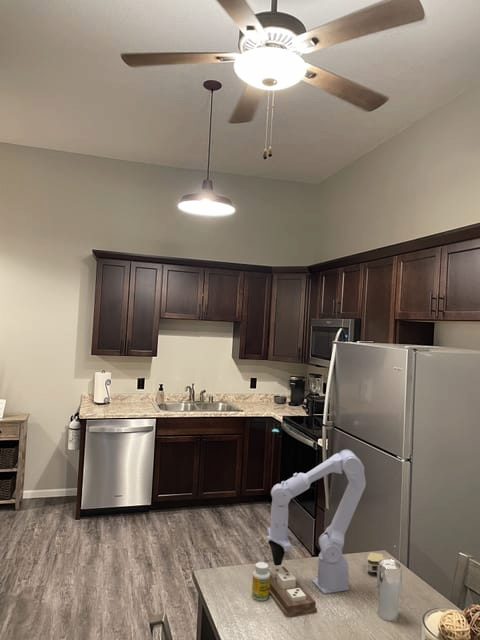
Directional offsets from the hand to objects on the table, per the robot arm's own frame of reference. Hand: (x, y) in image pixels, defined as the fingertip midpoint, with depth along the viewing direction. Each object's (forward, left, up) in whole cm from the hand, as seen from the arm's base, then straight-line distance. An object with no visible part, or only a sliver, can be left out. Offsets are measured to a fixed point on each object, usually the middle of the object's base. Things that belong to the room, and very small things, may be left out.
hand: (277, 564), depth 153 cm
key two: (0, +7, -3) cm, 8 cm away
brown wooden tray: (0, +7, -6) cm, 9 cm away
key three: (0, +14, -5) cm, 15 cm away
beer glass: (-25, +25, -6) cm, 36 cm away
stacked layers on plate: (-37, +2, -7) cm, 38 cm away
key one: (0, 0, -5) cm, 5 cm away
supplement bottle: (+8, +6, -6) cm, 12 cm away
